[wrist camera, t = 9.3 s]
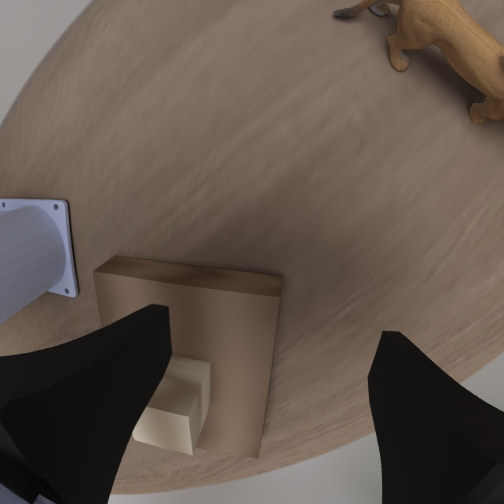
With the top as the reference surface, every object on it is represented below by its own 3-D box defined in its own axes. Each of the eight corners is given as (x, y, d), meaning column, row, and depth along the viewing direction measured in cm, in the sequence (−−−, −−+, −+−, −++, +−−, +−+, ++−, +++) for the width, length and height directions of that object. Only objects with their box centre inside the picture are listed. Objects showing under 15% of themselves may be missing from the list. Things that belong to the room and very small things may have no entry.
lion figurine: (527, 89, 14) (613, 84, 5) (513, 153, 16) (604, 172, 7) (342, -13, 14) (364, -96, 6) (319, 53, 16) (335, -12, 7)
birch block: (159, 392, 22) (134, 439, 17) (153, 351, 21) (122, 399, 16) (210, 403, 22) (192, 455, 17) (210, 362, 20) (188, 416, 16)
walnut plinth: (139, 408, 27) (128, 429, 25) (115, 255, 22) (93, 271, 19) (262, 433, 26) (258, 458, 23) (282, 275, 21) (279, 297, 18)
